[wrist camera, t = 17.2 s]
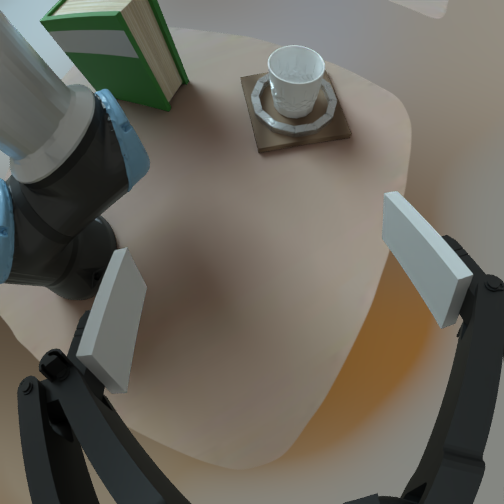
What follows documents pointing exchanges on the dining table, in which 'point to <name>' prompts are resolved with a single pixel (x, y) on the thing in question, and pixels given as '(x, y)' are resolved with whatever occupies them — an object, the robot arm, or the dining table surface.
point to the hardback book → (120, 48)
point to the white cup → (295, 79)
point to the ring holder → (291, 129)
